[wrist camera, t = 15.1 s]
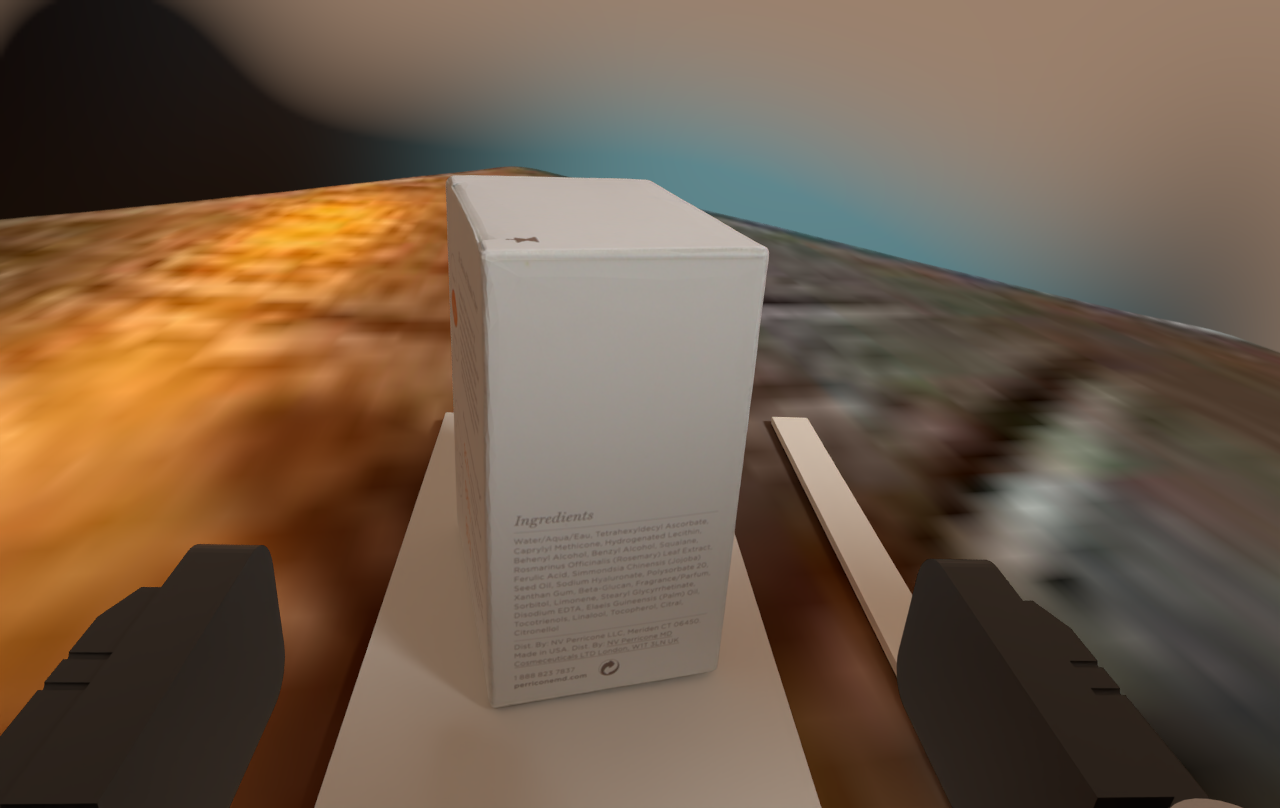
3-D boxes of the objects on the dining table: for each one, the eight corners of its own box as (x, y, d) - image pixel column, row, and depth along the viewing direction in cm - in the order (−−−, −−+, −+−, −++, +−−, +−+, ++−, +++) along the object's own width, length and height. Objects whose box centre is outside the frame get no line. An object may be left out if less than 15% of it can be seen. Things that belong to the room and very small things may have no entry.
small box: (719, 680, 20) (781, 248, 15) (484, 718, 18) (479, 248, 14) (630, 506, 27) (655, 174, 22) (454, 522, 25) (444, 169, 21)
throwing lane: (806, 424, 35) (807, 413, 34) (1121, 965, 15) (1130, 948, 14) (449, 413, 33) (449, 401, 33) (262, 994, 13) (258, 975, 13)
